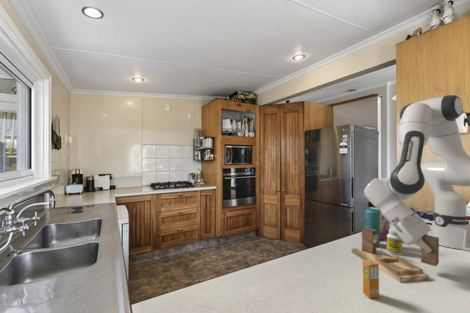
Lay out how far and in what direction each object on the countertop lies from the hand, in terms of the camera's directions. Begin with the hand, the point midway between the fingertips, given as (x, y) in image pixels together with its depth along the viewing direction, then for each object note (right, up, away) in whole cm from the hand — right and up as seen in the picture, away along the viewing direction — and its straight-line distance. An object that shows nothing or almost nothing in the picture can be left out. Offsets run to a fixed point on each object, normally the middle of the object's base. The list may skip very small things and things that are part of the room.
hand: (432, 249), depth 82 cm
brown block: (0, -5, 0) cm, 5 cm away
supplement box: (-29, -9, -13) cm, 33 cm away
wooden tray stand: (-12, -8, +7) cm, 16 cm away
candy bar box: (+4, -9, +36) cm, 38 cm away
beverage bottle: (-5, -9, +26) cm, 28 cm away
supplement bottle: (-1, -9, +18) cm, 20 cm away
